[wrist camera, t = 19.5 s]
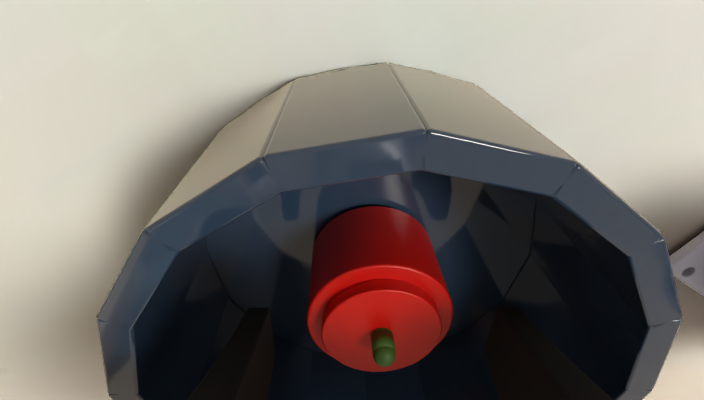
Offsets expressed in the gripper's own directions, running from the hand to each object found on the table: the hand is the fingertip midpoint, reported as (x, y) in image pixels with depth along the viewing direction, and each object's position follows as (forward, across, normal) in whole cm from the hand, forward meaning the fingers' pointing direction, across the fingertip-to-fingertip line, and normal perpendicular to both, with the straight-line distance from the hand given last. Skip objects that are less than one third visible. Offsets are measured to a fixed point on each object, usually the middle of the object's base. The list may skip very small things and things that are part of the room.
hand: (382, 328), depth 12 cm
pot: (+4, 0, 0) cm, 4 cm away
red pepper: (+4, 0, 0) cm, 4 cm away
